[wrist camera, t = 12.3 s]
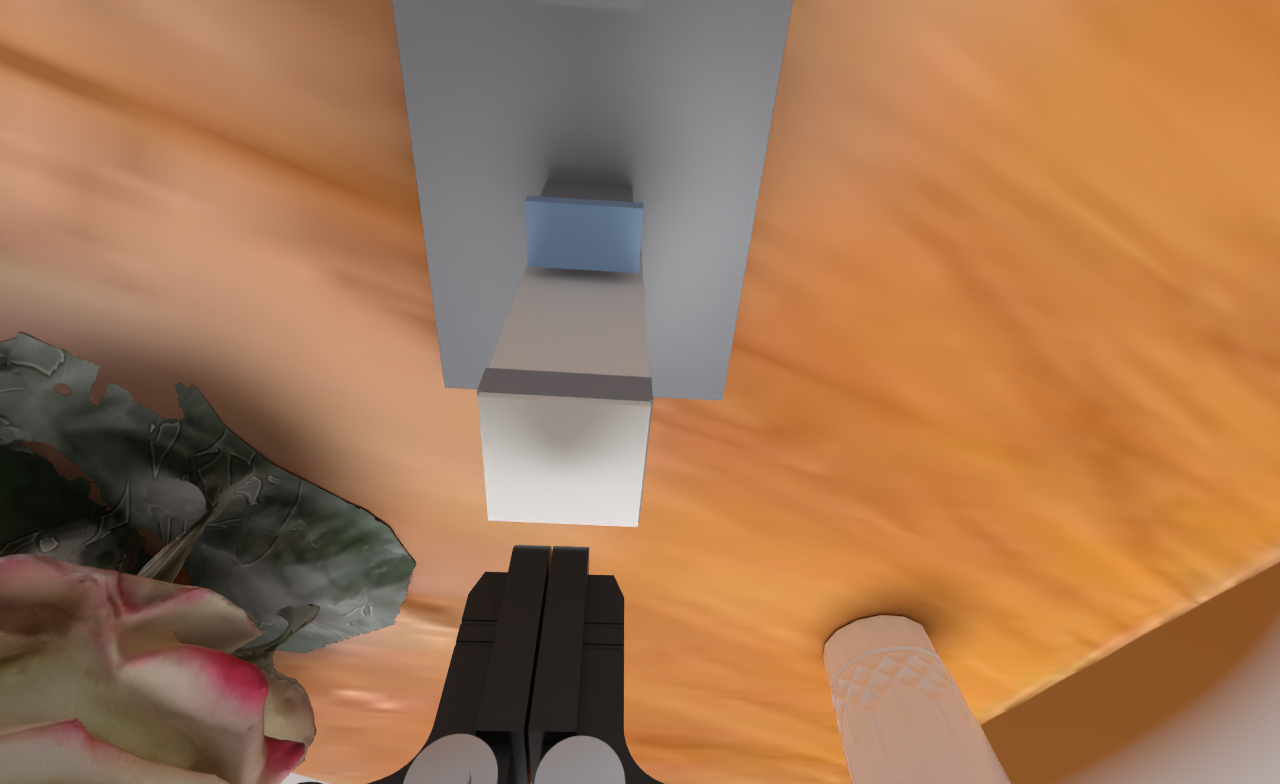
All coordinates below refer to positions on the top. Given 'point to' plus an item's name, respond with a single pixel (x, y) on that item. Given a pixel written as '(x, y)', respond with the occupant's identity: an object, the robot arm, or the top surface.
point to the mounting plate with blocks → (591, 161)
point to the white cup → (903, 709)
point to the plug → (568, 401)
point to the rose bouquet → (163, 588)
